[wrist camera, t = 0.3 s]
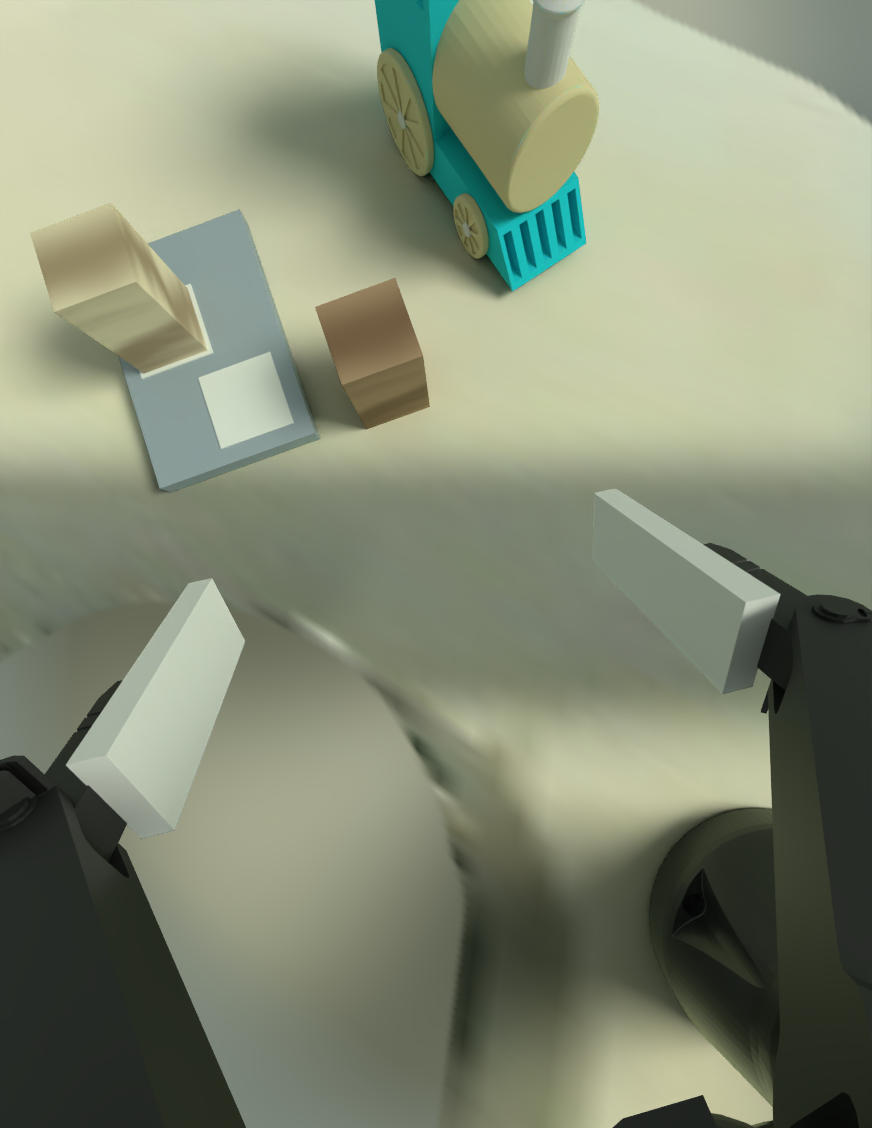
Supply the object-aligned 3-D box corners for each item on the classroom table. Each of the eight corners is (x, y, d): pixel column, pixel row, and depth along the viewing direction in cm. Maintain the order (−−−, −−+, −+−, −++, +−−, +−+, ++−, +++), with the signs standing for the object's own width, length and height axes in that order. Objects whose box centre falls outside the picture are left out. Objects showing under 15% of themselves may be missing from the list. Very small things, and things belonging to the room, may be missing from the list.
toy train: (502, 305, 32) (546, 54, 17) (383, 134, 33) (324, -248, 18) (590, 247, 32) (716, -57, 17) (469, 78, 33) (483, -353, 18)
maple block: (207, 350, 31) (136, 281, 24) (144, 373, 31) (54, 312, 24) (187, 288, 31) (110, 202, 24) (124, 311, 31) (30, 233, 24)
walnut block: (429, 406, 31) (423, 355, 24) (366, 429, 31) (341, 385, 24) (407, 345, 32) (395, 277, 25) (345, 368, 32) (315, 307, 25)
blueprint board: (320, 438, 31) (314, 432, 30) (170, 492, 32) (158, 488, 30) (247, 223, 33) (238, 208, 31) (103, 276, 33) (88, 264, 31)
